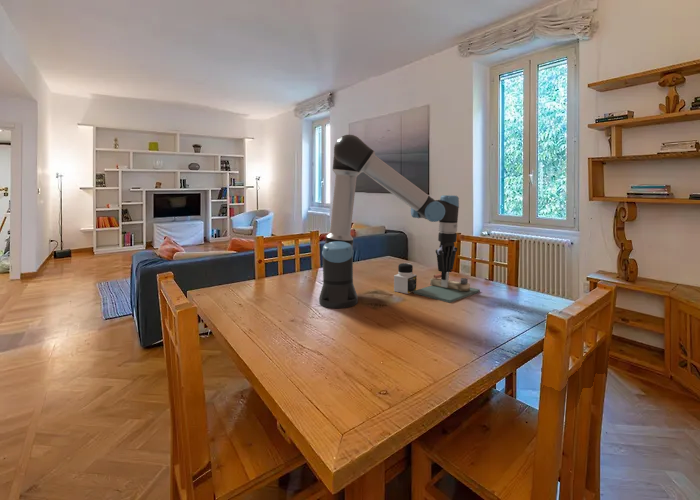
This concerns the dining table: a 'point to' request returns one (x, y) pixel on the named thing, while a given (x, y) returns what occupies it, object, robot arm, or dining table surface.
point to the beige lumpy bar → (451, 284)
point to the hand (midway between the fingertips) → (444, 286)
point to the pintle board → (445, 291)
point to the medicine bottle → (405, 279)
